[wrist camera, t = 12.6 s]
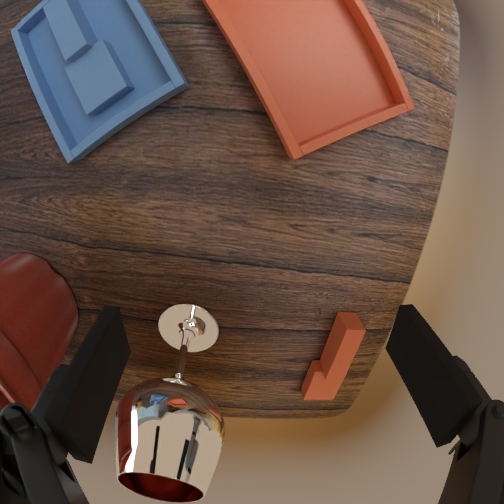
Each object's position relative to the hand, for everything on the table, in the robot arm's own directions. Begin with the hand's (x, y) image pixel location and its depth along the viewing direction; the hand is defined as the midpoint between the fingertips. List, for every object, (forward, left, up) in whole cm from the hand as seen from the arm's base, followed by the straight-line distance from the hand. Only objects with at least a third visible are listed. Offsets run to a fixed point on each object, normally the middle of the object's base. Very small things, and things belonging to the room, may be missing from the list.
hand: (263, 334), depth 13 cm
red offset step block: (-1, +18, -14) cm, 23 cm away
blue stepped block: (+5, -21, -14) cm, 26 cm away
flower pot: (+26, -4, -15) cm, 30 cm away
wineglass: (+11, +7, -15) cm, 19 cm away
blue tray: (+5, -21, -14) cm, 26 cm away
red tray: (-11, -12, -14) cm, 22 cm away
